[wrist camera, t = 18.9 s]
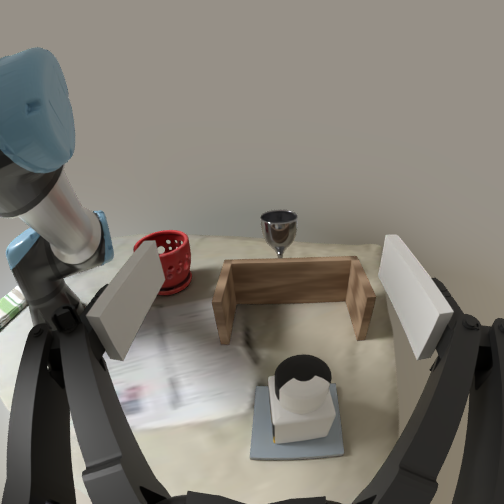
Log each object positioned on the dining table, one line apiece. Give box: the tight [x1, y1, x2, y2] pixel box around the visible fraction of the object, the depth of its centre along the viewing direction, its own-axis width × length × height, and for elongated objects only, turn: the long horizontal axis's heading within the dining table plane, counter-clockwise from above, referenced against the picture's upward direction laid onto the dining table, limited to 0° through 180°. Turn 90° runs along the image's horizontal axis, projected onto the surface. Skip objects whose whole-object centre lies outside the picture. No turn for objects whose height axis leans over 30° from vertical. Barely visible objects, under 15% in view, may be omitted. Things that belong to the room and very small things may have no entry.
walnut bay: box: [212, 256, 376, 345], centre depth 49 cm, size 13×26×10 cm, turn 86°
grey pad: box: [250, 383, 344, 460], centre depth 32 cm, size 12×12×1 cm
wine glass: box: [261, 210, 297, 258], centre depth 62 cm, size 8×8×15 cm
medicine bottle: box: [268, 355, 336, 444], centre depth 29 cm, size 7×7×12 cm
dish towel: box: [0, 286, 28, 329], centre depth 57 cm, size 17×23×4 cm
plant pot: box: [134, 230, 192, 295], centre depth 62 cm, size 13×13×12 cm
